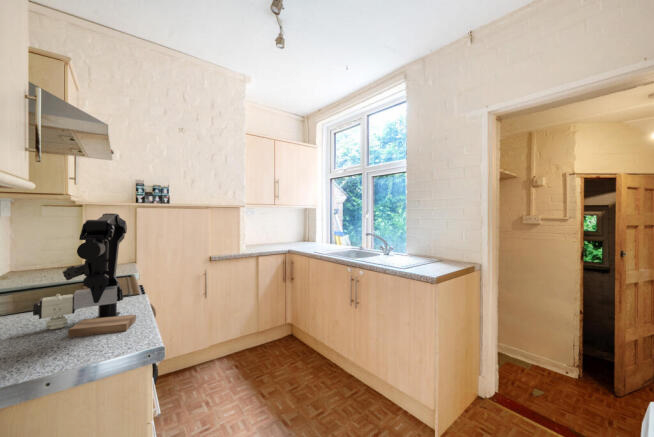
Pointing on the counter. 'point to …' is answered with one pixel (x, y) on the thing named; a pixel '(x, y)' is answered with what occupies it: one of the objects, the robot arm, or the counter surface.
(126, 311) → the counter surface
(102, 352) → the counter surface
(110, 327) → the walnut stand
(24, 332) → the counter surface
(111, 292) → the housing
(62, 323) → the pneumatic valve
